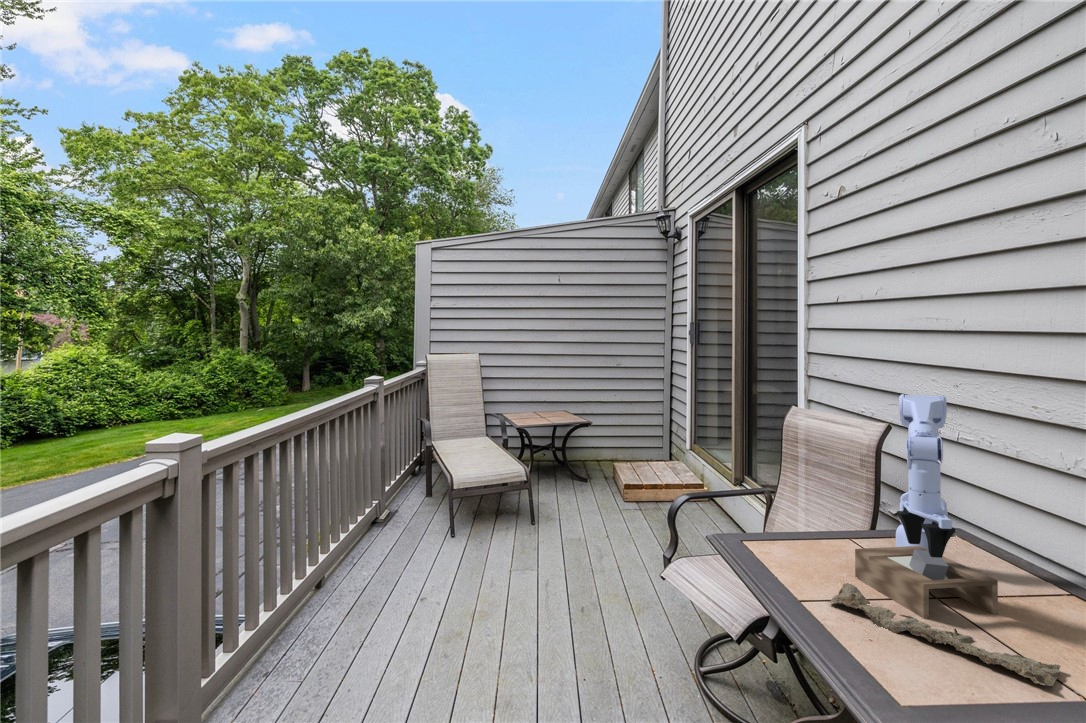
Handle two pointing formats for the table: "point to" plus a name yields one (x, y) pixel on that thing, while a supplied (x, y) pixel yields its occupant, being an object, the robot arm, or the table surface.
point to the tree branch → (947, 638)
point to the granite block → (928, 565)
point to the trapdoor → (905, 561)
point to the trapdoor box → (922, 580)
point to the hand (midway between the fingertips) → (924, 550)
